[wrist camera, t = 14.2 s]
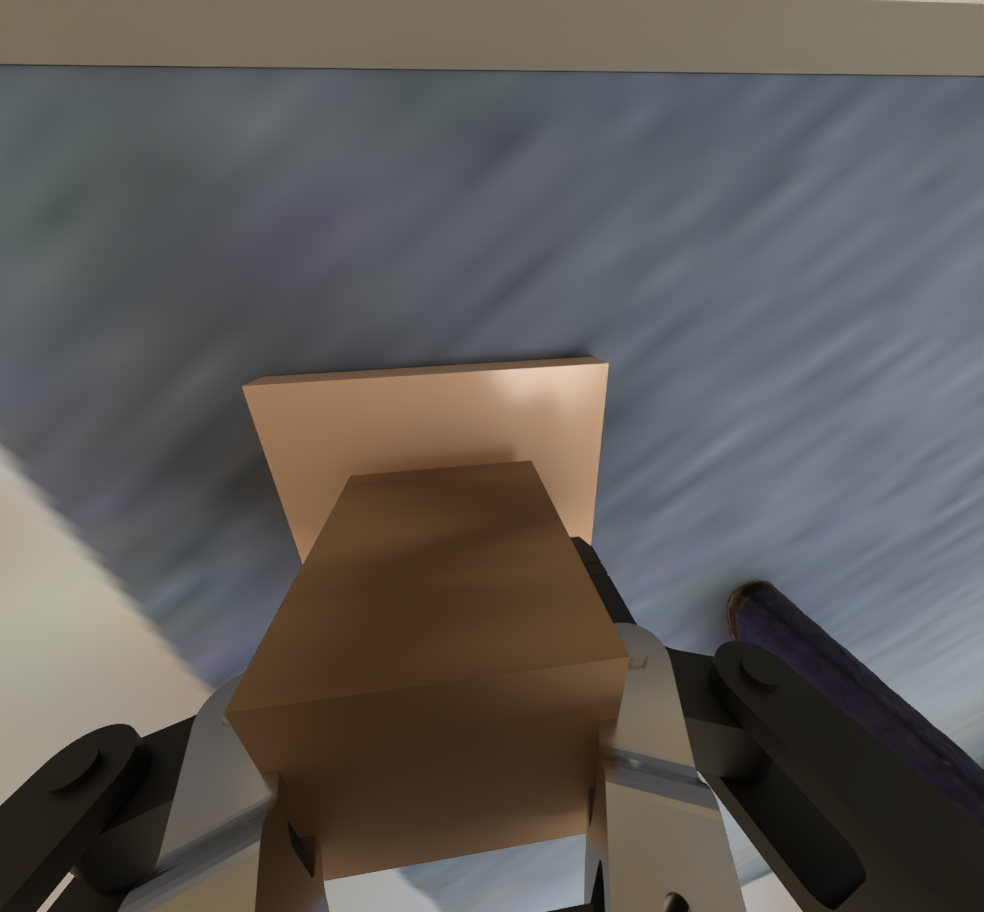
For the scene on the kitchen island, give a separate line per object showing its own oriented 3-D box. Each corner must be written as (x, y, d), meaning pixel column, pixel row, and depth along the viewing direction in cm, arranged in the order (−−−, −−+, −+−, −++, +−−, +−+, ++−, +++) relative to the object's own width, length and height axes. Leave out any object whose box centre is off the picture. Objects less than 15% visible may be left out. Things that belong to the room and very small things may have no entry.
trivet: (593, 356, 11) (608, 363, 10) (574, 590, 15) (584, 612, 14) (263, 376, 10) (241, 386, 9) (339, 618, 15) (330, 644, 13)
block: (531, 460, 10) (630, 657, 5) (530, 591, 12) (596, 831, 7) (350, 475, 10) (222, 713, 4) (382, 608, 12) (324, 880, 6)
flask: (805, 668, 20) (1135, 1014, 10) (756, 690, 21) (1031, 1044, 11) (771, 569, 16) (1238, 966, 7) (712, 598, 17) (1072, 1013, 7)
